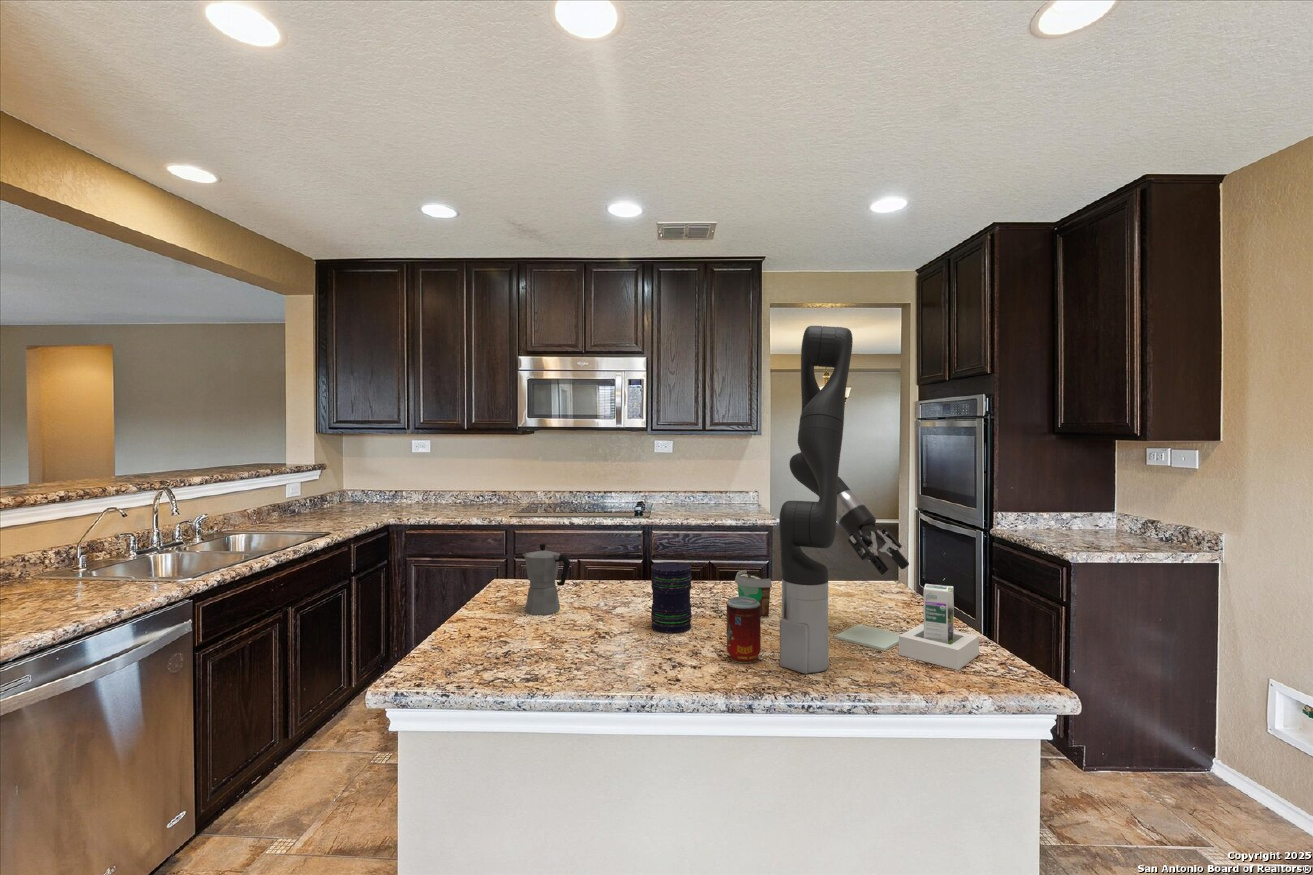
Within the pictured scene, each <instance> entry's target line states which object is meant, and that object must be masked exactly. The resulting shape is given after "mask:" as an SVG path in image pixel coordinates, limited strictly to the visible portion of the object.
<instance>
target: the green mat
mask: <svg viewBox="0 0 1313 875" xmlns="http://www.w3.org/2000/svg"><path fill="white" fill-rule="evenodd" d="M901 634H902V633H899V632H895V631H891V630H887V629H886V630H885V629H881V628H877V627H873V626H870V625H865V624H861V623H858V624H857V625H855V626H852V627H850V628H848V629H845V630H844V631H843V630H842V632H838V633H836V634H834V638H833V639H836V640H840V641H844V642H848V643H852V644H855V645H860V646H864V647H867V648H872V649H875V650H878V651H883V652H886V651H888V650H890V649H892V648H893V647H895V646H897V645H899V636H900V635H901Z"/></svg>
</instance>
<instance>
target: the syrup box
mask: <svg viewBox="0 0 1313 875" xmlns="http://www.w3.org/2000/svg"><path fill="white" fill-rule="evenodd" d="M923 587H924V588H923V591H922V592H923V594H922V597H923V598H922V599H923V604H922V605H923V624H924V639H929V640H933V641H937V642H941V643H946V644H950V645H951V644H953V643H954V631H955V630H954V629H955V626H954V625H955V624H954V622H955V618H954V615H955V614H954V613H955V612H954V610H955V609H954V607H955V605H954V604H955V602H954V597H955V596H954V591H955V590H954V586H953V585H942V584H929V583H925V584H924V586H923Z"/></svg>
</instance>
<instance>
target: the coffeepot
mask: <svg viewBox="0 0 1313 875" xmlns="http://www.w3.org/2000/svg"><path fill="white" fill-rule="evenodd" d="M546 545H547V544H545V543H540V544H539V549H540V550H536V551H531V552H526V553H522V556H523V557H524V560H525V561H524V562H525V568H526V574H527V580H528V581H529V587H528V591H527V598H526V604H525V611H524V612H525V613H526V612H527V613H526V614H528V613H529V614H528V615H530V614H532V615H531V616H537V615H543V616H549V615H550V614H551V615H554V614H557V613H558V612H559V611H560V609H561V604H560V598H559V592H558V587H557V586H560V587H562V586H564V585H565V583H566V580H567V576H568V574H569V569H570V566H571V561H570V559H569V558H568V556H567V555H565V554H561V553H559V552H555V551H550V550H546ZM560 562H562V563H563V566H562V572H561V575H560V581H557V582H556V580H557V577H558V572H559V565H560ZM556 612H557V613H556ZM553 613H554V614H553ZM551 615H550V616H551Z"/></svg>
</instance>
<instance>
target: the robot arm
mask: <svg viewBox="0 0 1313 875" xmlns="http://www.w3.org/2000/svg"><path fill="white" fill-rule="evenodd" d="M852 333H853V332H852V331H851V330H850V329H849V328H847V327H842V326H830V325H829V326H827V325H809V326H807V327H806V328H805V330H804V332H803V336H802V342H801V348H800V350H801V351H800V387H801V390H800V391H801V411H800V412H801V413H800V417H799V425H798V434H797V445H798V449H799V451H800V452H798V453H795V454H793V456H791V457H790V459H789V469H790V470H789V471H790V472H791V474H792V476H793V478H795V479H796V480H797V481H798V482H799V483H800V484H802V485H803V486H804V487H805V488H807V489H808V490H810V491H811V492H813V494H815V495H817V497H819V498H818V501H809V500H786V501H785V502H784V503H783V504H782V505H781V508H780V512H779V517H778V518H779V521H778V523H779V543H780V567H781V569H780V570H781V618H780V620H779V666H780V667H783V668H786V669H790V670H792V671H794V672H799V673H801V674H805V675H807V674H810V673H811V674H812V673H819V672H823V671H826V670H827V669H828V668H829V666H830V664H829V663H830V662H829V659H830V658H829V657H830V656H829V650H830V648H829V569H828V566H826V565H824V564H823V563H821V562H819V561H817V560H815V559H813V558H810V557H809V556H808V555H807V554H806V553H804V552H803V550H802V548H801V547H803V548H804V547H805V548H816V549H817V548H818V549H828V548H831V546H833V544H834V541H835V537H836V532H837V524H838V525H839V526H840V527H841V529H842V530H843V532H844V533H845V534H846V535H847V536H848V539H847V542H848V543H849V544H850V546H851V547H852V548H853V550H854V552H855V553H856V554H857V555H858V558H860V559H861V560H862V561H866V560H867V561H868V562H871V563H872V565H873V566H874V567H875V569H876V570H877V571H878V573H880V574H881V575H886V574H887V573H888V572H889V571H890V567H889V566H888V565H887V563H886V562H885V561H884V559H882V557H881V556H880V555H879V553H878V551H879V552H881V553H886V554H887V555H889V556H890V557H891V559H892V560H893V561H894V562H895V564H896V565H897V566H898V567H899V569H900V570H906V568H908V567H909V566H910V563H909V561H908V560H907V559H906V558H905V556H904V555H903V554H902V552H900V550H901V548H902V547H903V546H902V543H900V542H899V540H897V539H896V537H895V536H894V535H893V534H892V532H890V531H889V530H888V528H887V527H885V526H884V527H883V528H882V529H881V530H880V529H879V528H877V526H876V522H877V519H876V516H874V514H872V512H871V511H870V510H869V508H868V507H867V506H866V504H864V503H863V501H862V500H861V499H860V498H859V497H858V495H856V494H855V493H854V492H853V491H852V490H851V488H850V487H849V486H848V485H847V484H846V482H845V481H844V480H843V479H842V478H841V477H840V476H839V469H840V460H841V459H840V458H841V452H842V443H843V436H844V427H845V426H844V424H845V407H846V403H845V402H846V393H847V392H846V391H847V385H848V377H849V371H850V365H851V359H852V353H853V351H852V350H853V334H852ZM815 367H821V368H834V369H833V371H832V373H831V375H830V377H829V378H828V380H827V381H826V382H825V384H824V385H823V387H822V388H821V389H820V386H819V384H818V382H817V379H816V375H815Z"/></svg>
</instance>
